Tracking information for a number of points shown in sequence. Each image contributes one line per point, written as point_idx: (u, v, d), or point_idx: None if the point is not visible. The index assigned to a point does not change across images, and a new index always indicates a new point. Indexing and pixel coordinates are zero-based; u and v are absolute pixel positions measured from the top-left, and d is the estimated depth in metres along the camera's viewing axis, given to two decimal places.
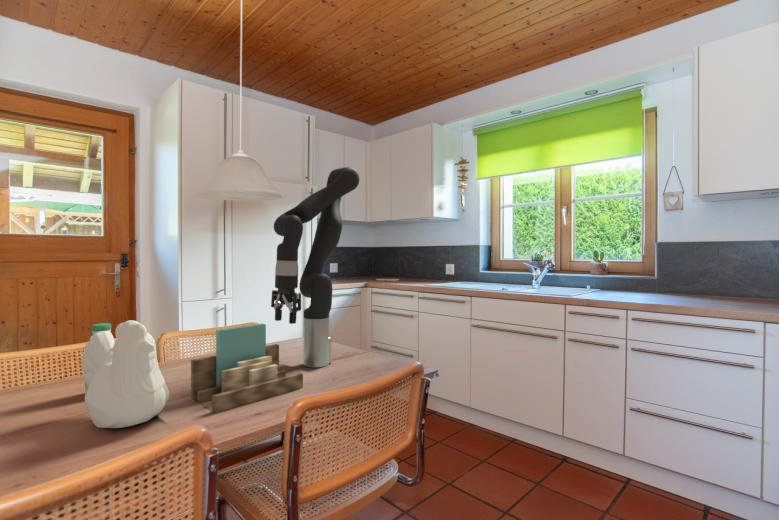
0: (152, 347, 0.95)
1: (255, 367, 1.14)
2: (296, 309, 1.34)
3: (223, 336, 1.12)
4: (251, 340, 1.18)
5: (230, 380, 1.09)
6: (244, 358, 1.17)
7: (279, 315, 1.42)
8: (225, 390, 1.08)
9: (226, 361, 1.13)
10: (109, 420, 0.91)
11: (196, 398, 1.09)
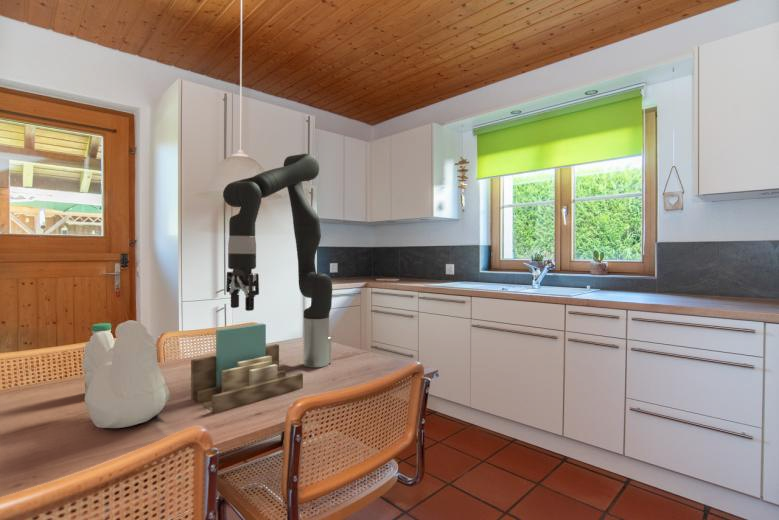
0: (152, 347, 0.95)
1: (255, 367, 1.14)
2: (253, 293, 1.12)
3: (223, 336, 1.12)
4: (251, 340, 1.18)
5: (230, 380, 1.09)
6: (244, 358, 1.17)
7: (235, 301, 1.20)
8: (225, 390, 1.08)
9: (226, 361, 1.13)
10: (109, 420, 0.91)
11: (196, 398, 1.09)
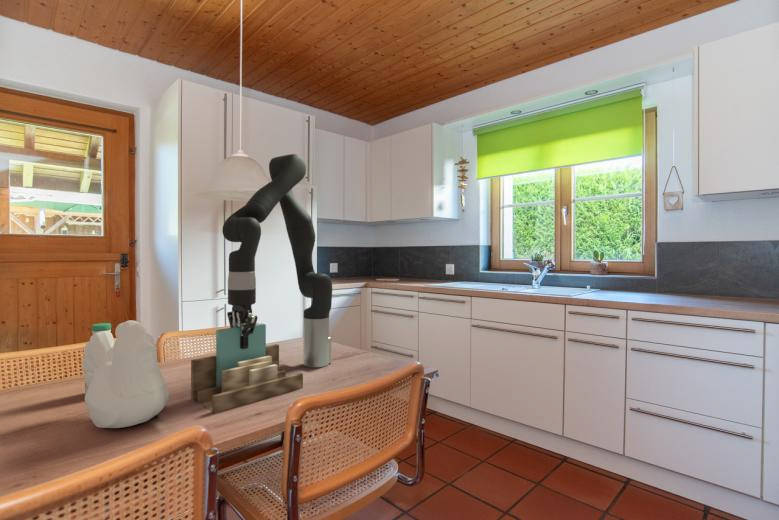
0: (152, 347, 0.95)
1: (255, 367, 1.14)
2: (247, 332, 1.14)
3: (223, 336, 1.12)
4: (251, 340, 1.18)
5: (230, 380, 1.09)
6: (244, 358, 1.17)
7: None
8: (225, 390, 1.08)
9: (226, 361, 1.13)
10: (109, 420, 0.91)
11: (196, 398, 1.09)
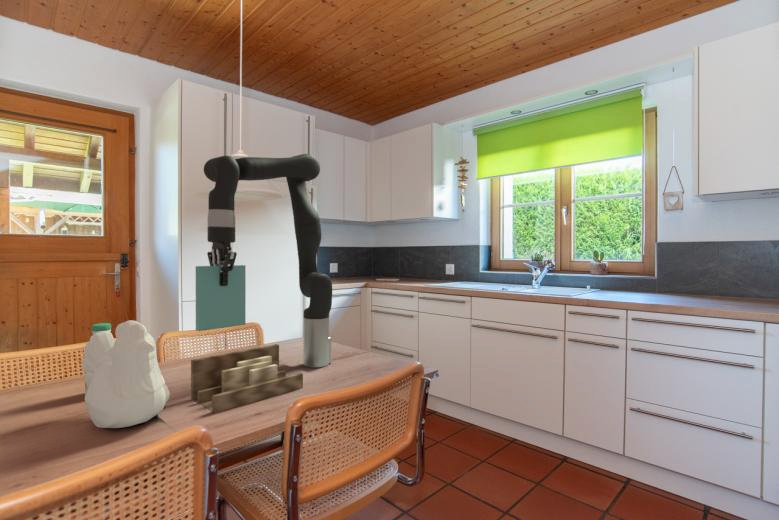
0: (152, 347, 0.95)
1: (255, 367, 1.14)
2: (226, 269, 1.16)
3: (202, 272, 1.14)
4: (230, 279, 1.20)
5: (230, 380, 1.09)
6: (224, 296, 1.19)
7: None
8: (225, 390, 1.08)
9: (205, 297, 1.15)
10: (109, 420, 0.91)
11: (196, 398, 1.09)
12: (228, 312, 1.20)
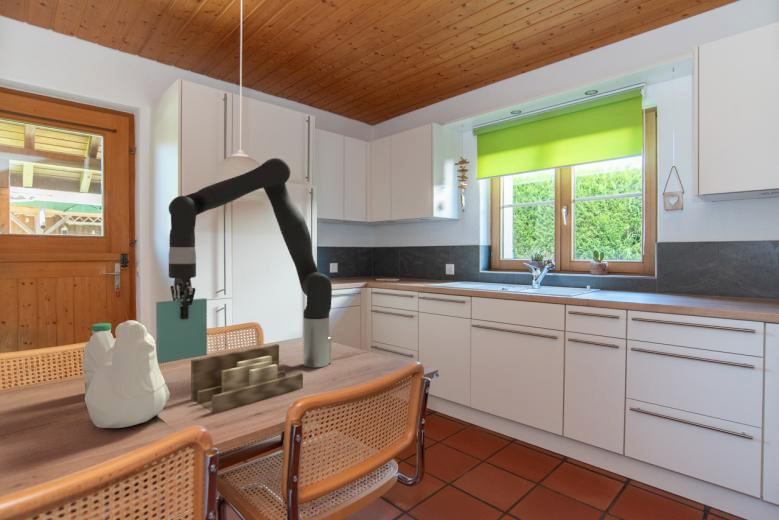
0: (152, 347, 0.95)
1: (255, 367, 1.14)
2: (186, 303, 1.23)
3: (162, 308, 1.21)
4: (191, 313, 1.27)
5: (230, 380, 1.09)
6: (184, 329, 1.25)
7: None
8: (225, 390, 1.08)
9: (166, 331, 1.22)
10: (109, 420, 0.91)
11: (196, 398, 1.09)
12: (188, 344, 1.26)
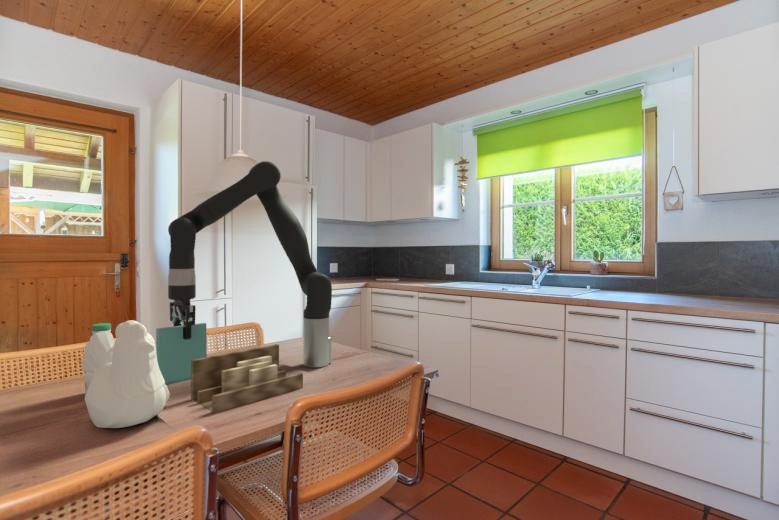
0: (152, 347, 0.95)
1: (255, 367, 1.14)
2: (188, 324, 1.21)
3: (162, 334, 1.21)
4: (191, 338, 1.27)
5: (230, 380, 1.09)
6: (184, 355, 1.26)
7: None
8: (225, 390, 1.08)
9: (166, 358, 1.22)
10: (109, 420, 0.91)
11: (196, 398, 1.09)
12: (189, 369, 1.27)
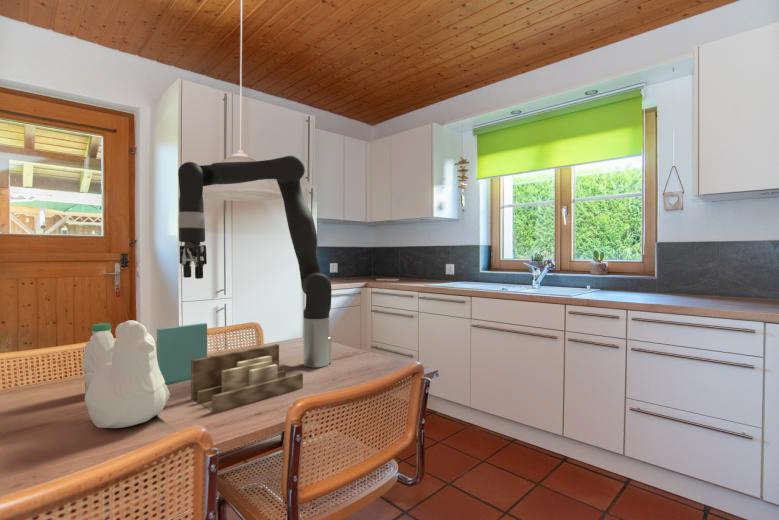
0: (152, 347, 0.95)
1: (255, 367, 1.14)
2: (200, 262, 1.25)
3: (163, 334, 1.21)
4: (191, 338, 1.27)
5: (230, 380, 1.09)
6: (185, 355, 1.26)
7: (188, 271, 1.33)
8: (225, 390, 1.08)
9: (166, 358, 1.22)
10: (109, 420, 0.91)
11: (196, 398, 1.09)
12: (189, 369, 1.27)
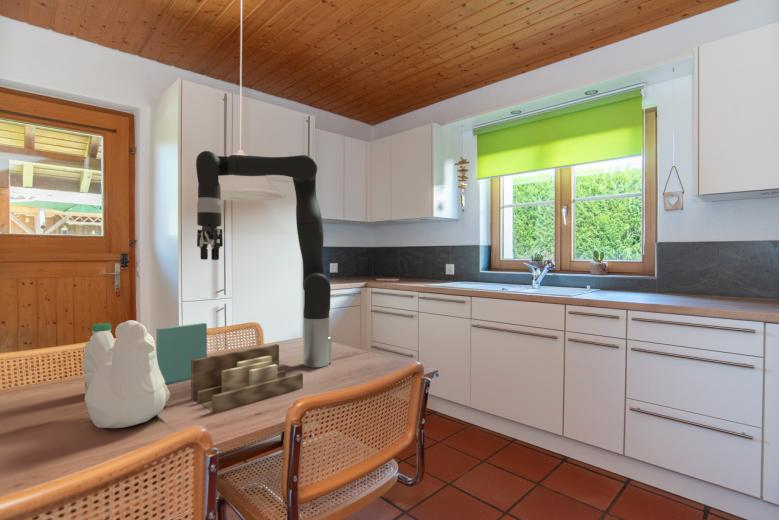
0: (152, 347, 0.95)
1: (255, 367, 1.14)
2: (217, 244, 1.34)
3: (163, 334, 1.21)
4: (191, 338, 1.27)
5: (230, 380, 1.09)
6: (184, 355, 1.26)
7: (205, 254, 1.42)
8: (225, 390, 1.08)
9: (166, 358, 1.22)
10: (109, 420, 0.91)
11: (196, 398, 1.09)
12: (189, 369, 1.27)
